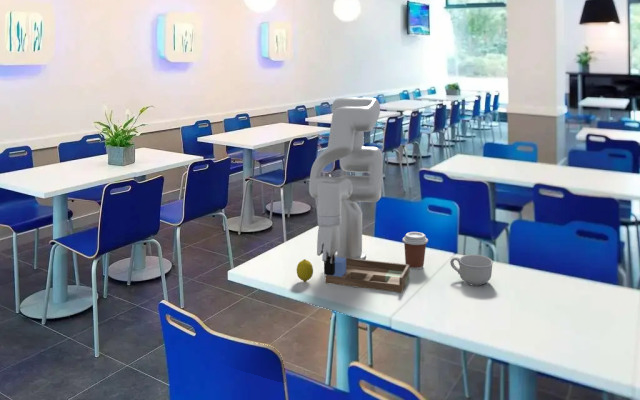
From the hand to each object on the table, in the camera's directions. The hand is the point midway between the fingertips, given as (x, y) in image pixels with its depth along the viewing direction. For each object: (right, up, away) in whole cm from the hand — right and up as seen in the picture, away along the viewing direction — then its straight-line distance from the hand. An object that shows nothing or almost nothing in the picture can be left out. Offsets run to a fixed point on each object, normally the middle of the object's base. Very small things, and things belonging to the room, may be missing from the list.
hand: (329, 274), depth 184 cm
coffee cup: (+31, 0, +21) cm, 38 cm away
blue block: (+3, -1, +8) cm, 9 cm away
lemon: (-8, -4, +8) cm, 12 cm away
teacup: (+48, -3, +7) cm, 48 cm away
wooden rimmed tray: (+13, -3, +8) cm, 16 cm away
